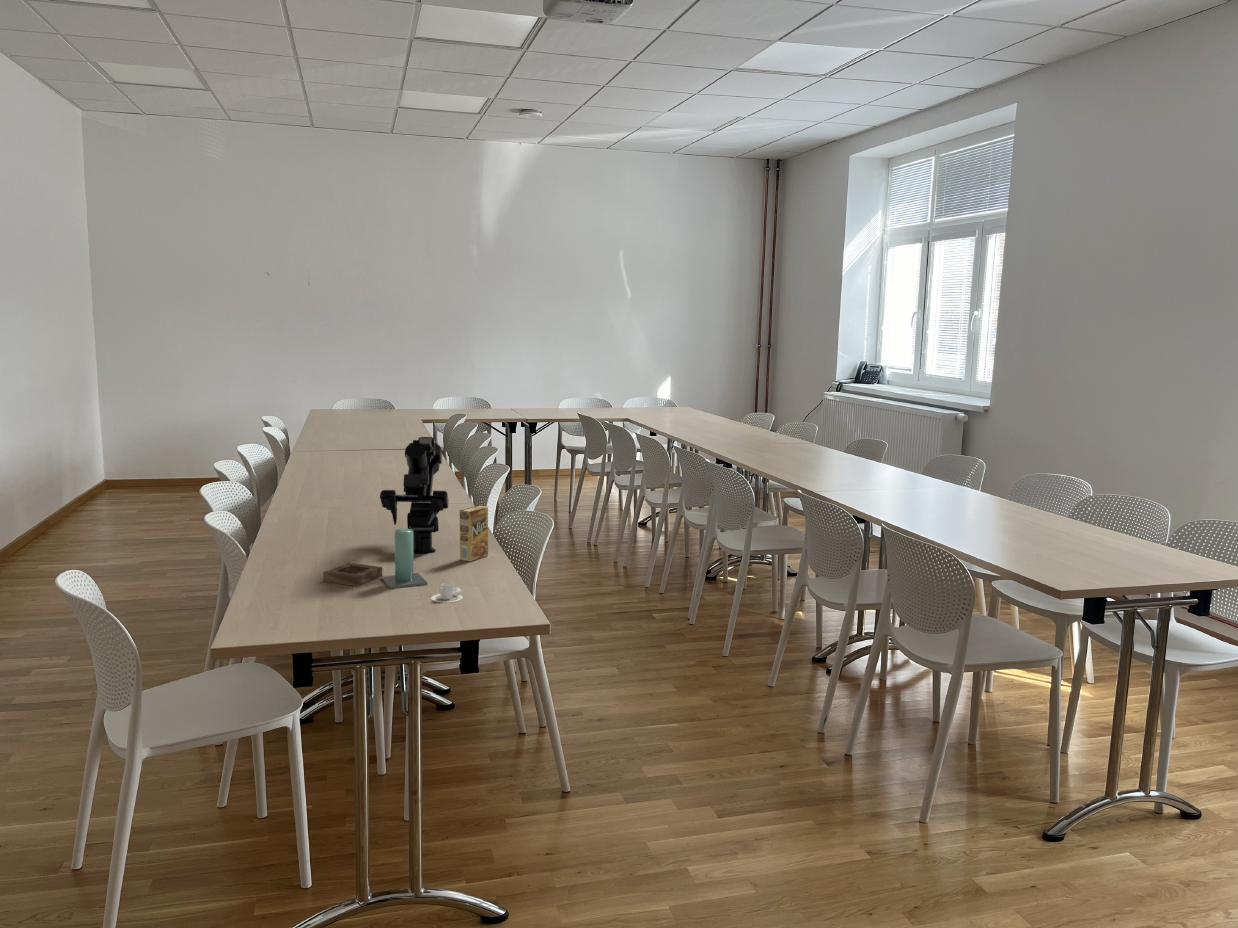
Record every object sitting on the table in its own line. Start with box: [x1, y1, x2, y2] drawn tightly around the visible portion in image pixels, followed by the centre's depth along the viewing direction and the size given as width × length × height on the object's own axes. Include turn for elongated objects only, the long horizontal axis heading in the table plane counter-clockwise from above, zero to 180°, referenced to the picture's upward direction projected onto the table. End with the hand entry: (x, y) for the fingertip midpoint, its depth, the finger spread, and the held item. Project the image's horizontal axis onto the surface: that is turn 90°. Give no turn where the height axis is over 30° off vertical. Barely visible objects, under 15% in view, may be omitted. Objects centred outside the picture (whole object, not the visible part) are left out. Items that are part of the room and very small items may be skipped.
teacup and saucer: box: [430, 582, 464, 604], centre depth 222 cm, size 9×8×4 cm
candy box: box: [459, 505, 489, 562], centre depth 260 cm, size 9×4×15 cm, turn 150°
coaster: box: [381, 572, 428, 590], centre depth 235 cm, size 10×10×1 cm
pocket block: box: [322, 562, 383, 587], centre depth 236 cm, size 11×11×2 cm
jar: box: [394, 528, 414, 582], centre depth 234 cm, size 5×5×14 cm
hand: (411, 524), depth 243 cm, fingers open, 9 cm apart
